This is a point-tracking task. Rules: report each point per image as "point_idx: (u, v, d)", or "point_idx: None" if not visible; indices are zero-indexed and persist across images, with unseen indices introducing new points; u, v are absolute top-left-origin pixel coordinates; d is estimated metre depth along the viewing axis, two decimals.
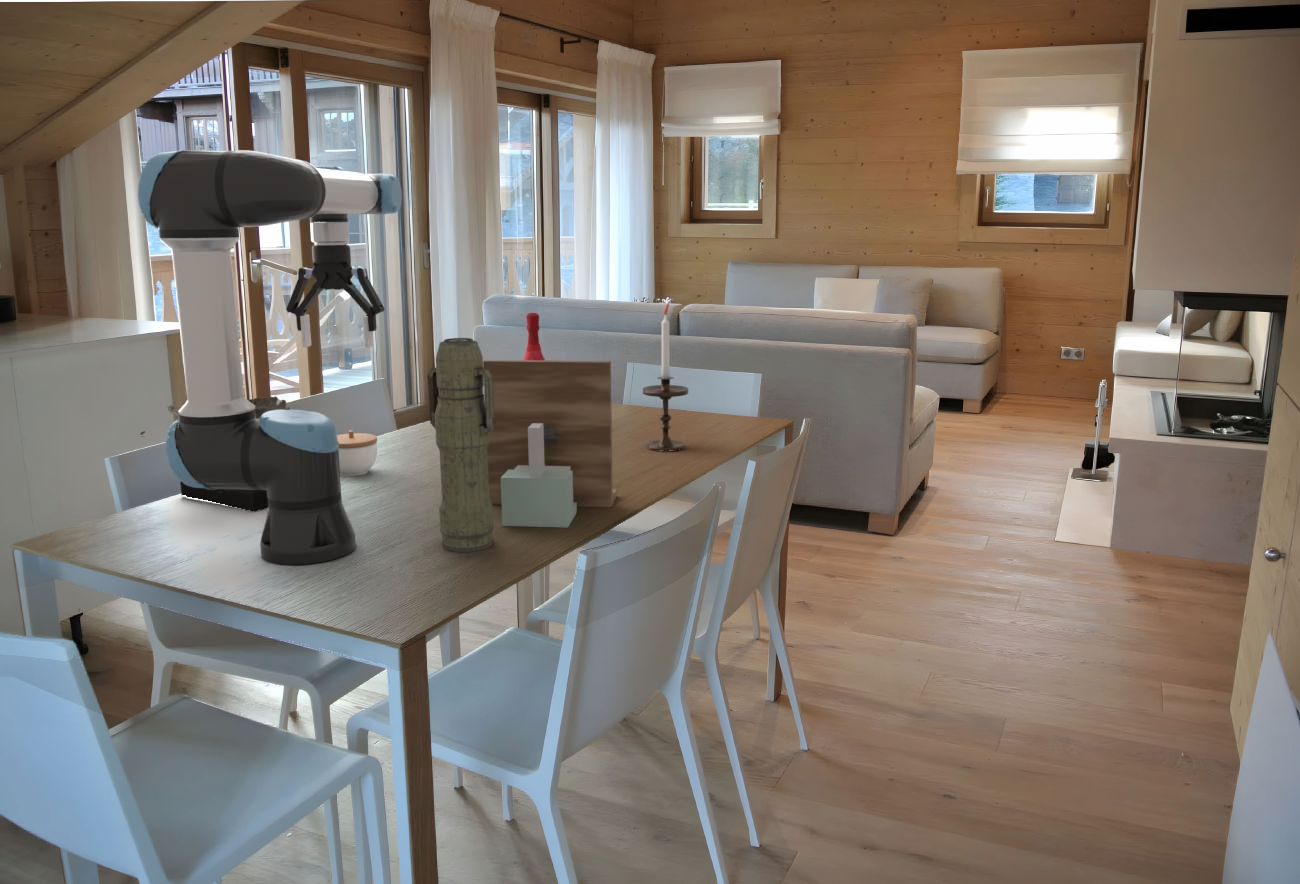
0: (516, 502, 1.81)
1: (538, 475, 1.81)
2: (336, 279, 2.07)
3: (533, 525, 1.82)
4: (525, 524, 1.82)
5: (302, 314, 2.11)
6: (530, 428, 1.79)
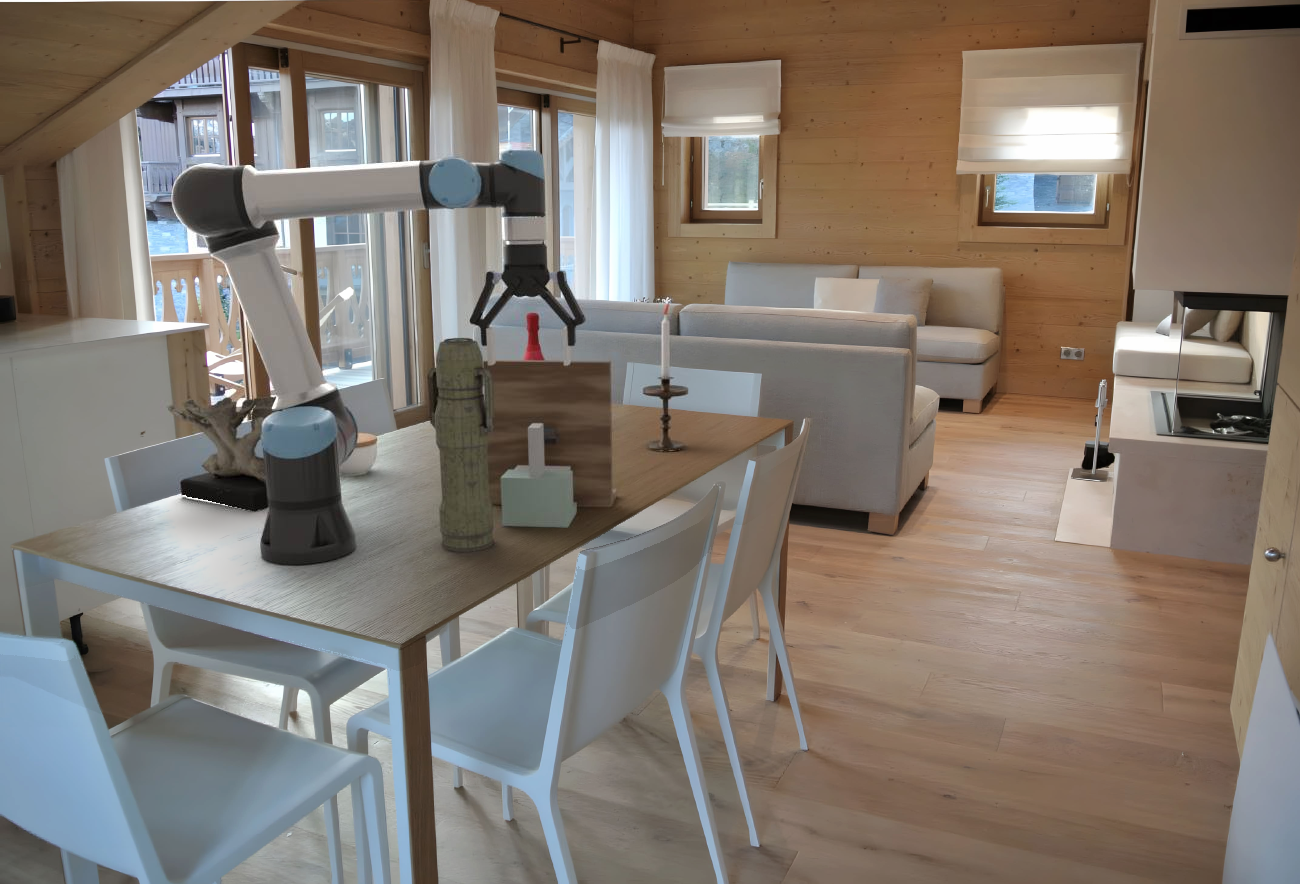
0: (516, 502, 1.81)
1: (538, 475, 1.81)
2: (532, 285, 1.74)
3: (533, 525, 1.82)
4: (525, 524, 1.82)
5: (487, 327, 1.78)
6: (530, 428, 1.79)
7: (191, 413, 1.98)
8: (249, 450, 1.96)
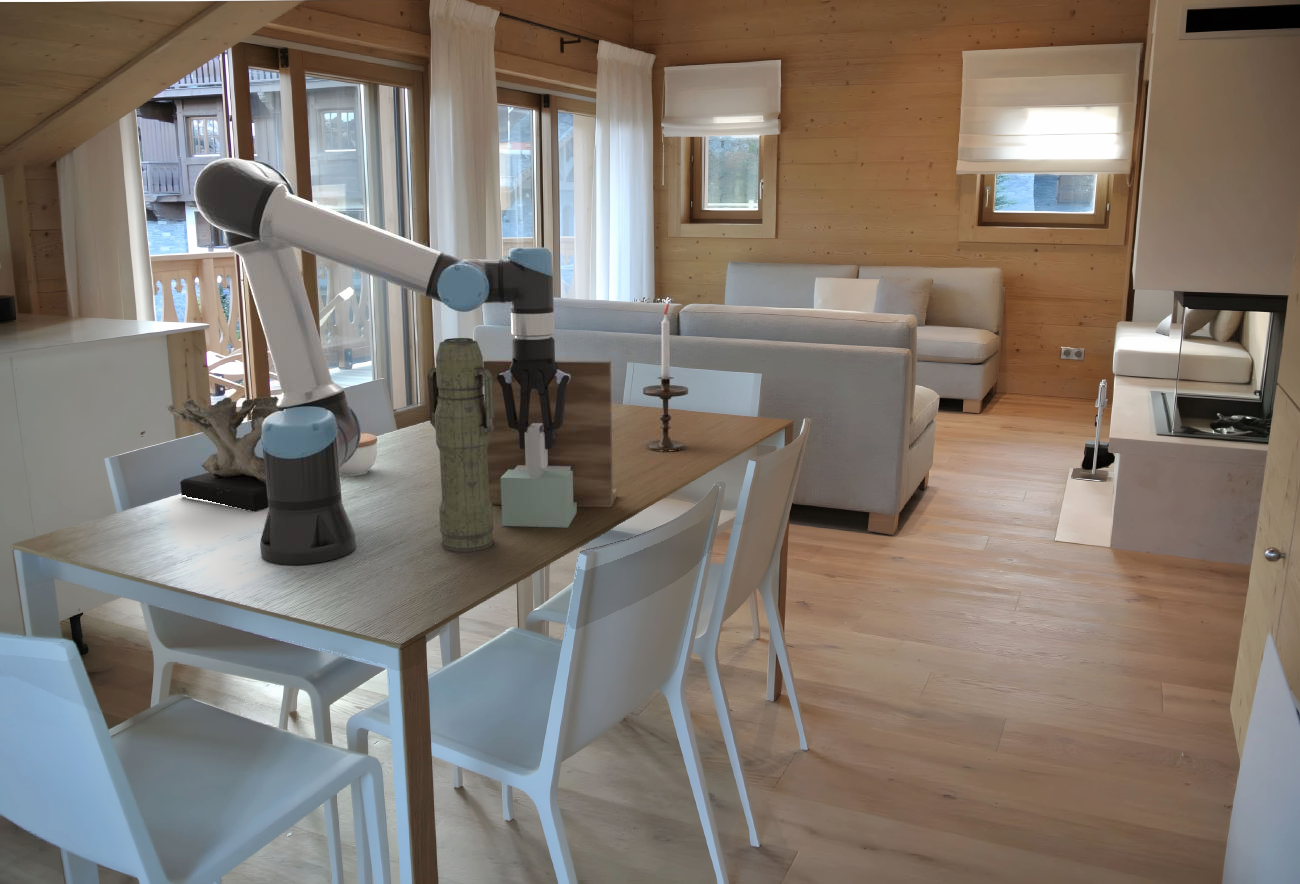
0: (516, 502, 1.81)
1: (538, 475, 1.81)
2: (537, 378, 1.77)
3: (533, 525, 1.82)
4: (525, 524, 1.82)
5: (525, 430, 1.81)
6: (530, 428, 1.79)
7: (191, 413, 1.98)
8: (249, 450, 1.96)
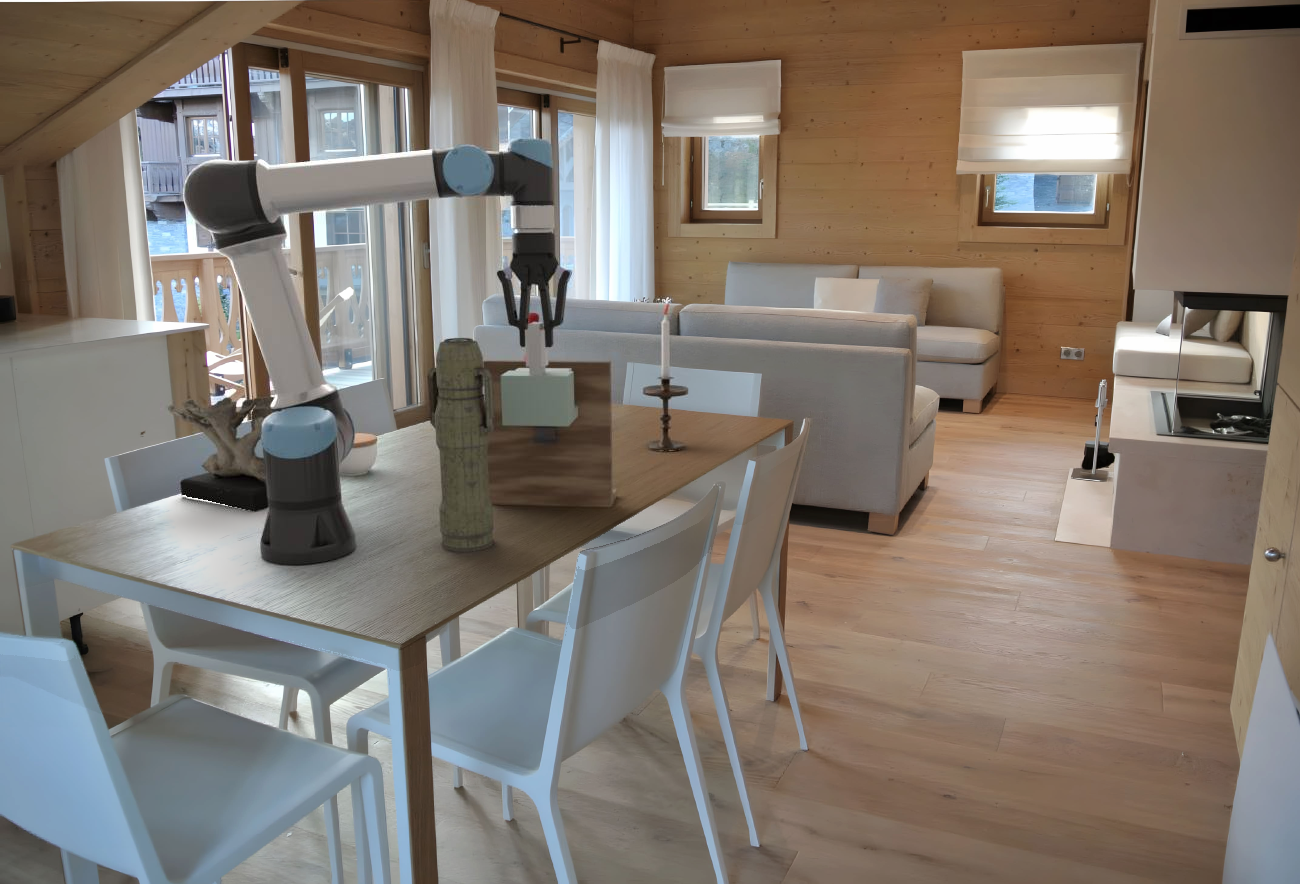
0: (516, 401, 1.80)
1: (538, 373, 1.79)
2: (538, 273, 1.75)
3: (533, 424, 1.80)
4: (525, 423, 1.81)
5: (526, 328, 1.79)
6: (530, 325, 1.78)
7: (191, 413, 1.98)
8: (249, 450, 1.96)
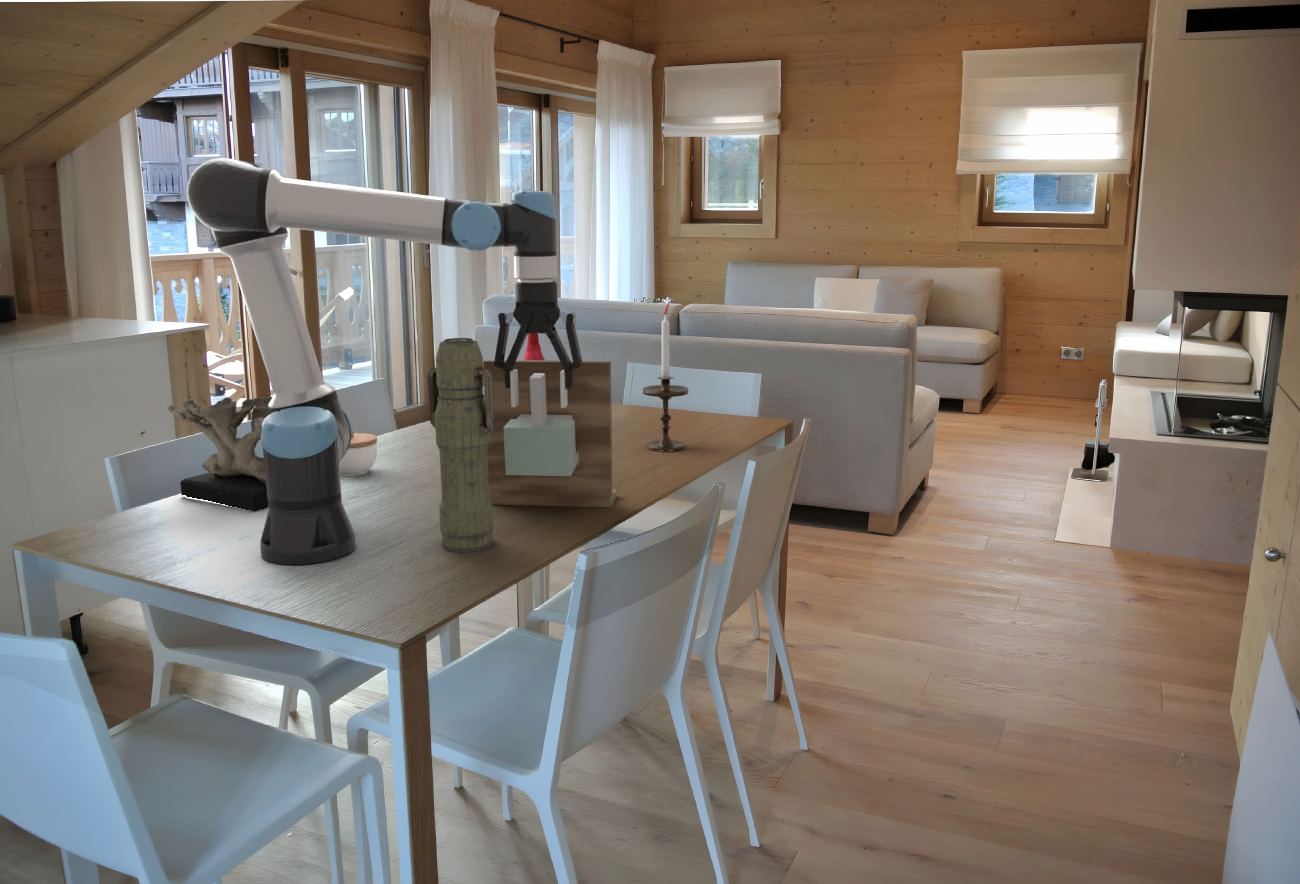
0: (519, 452, 1.83)
1: (540, 425, 1.82)
2: (542, 322, 1.79)
3: (536, 474, 1.84)
4: (528, 473, 1.84)
5: (511, 369, 1.83)
6: (532, 378, 1.80)
7: (191, 413, 1.98)
8: (249, 450, 1.96)
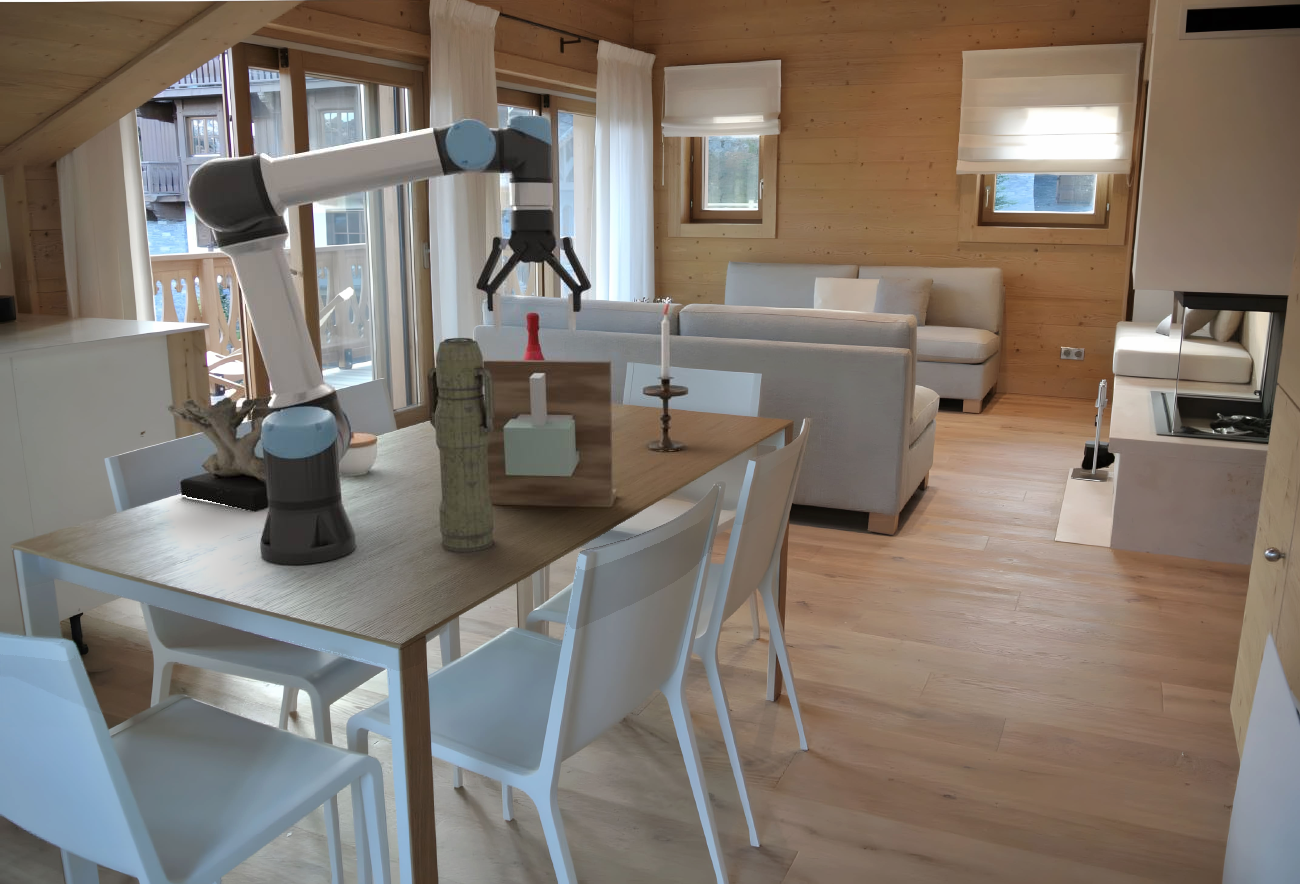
0: (519, 452, 1.83)
1: (540, 425, 1.82)
2: (539, 250, 1.76)
3: (536, 474, 1.84)
4: (528, 473, 1.84)
5: (494, 292, 1.80)
6: (532, 378, 1.80)
7: (191, 413, 1.98)
8: (249, 450, 1.96)
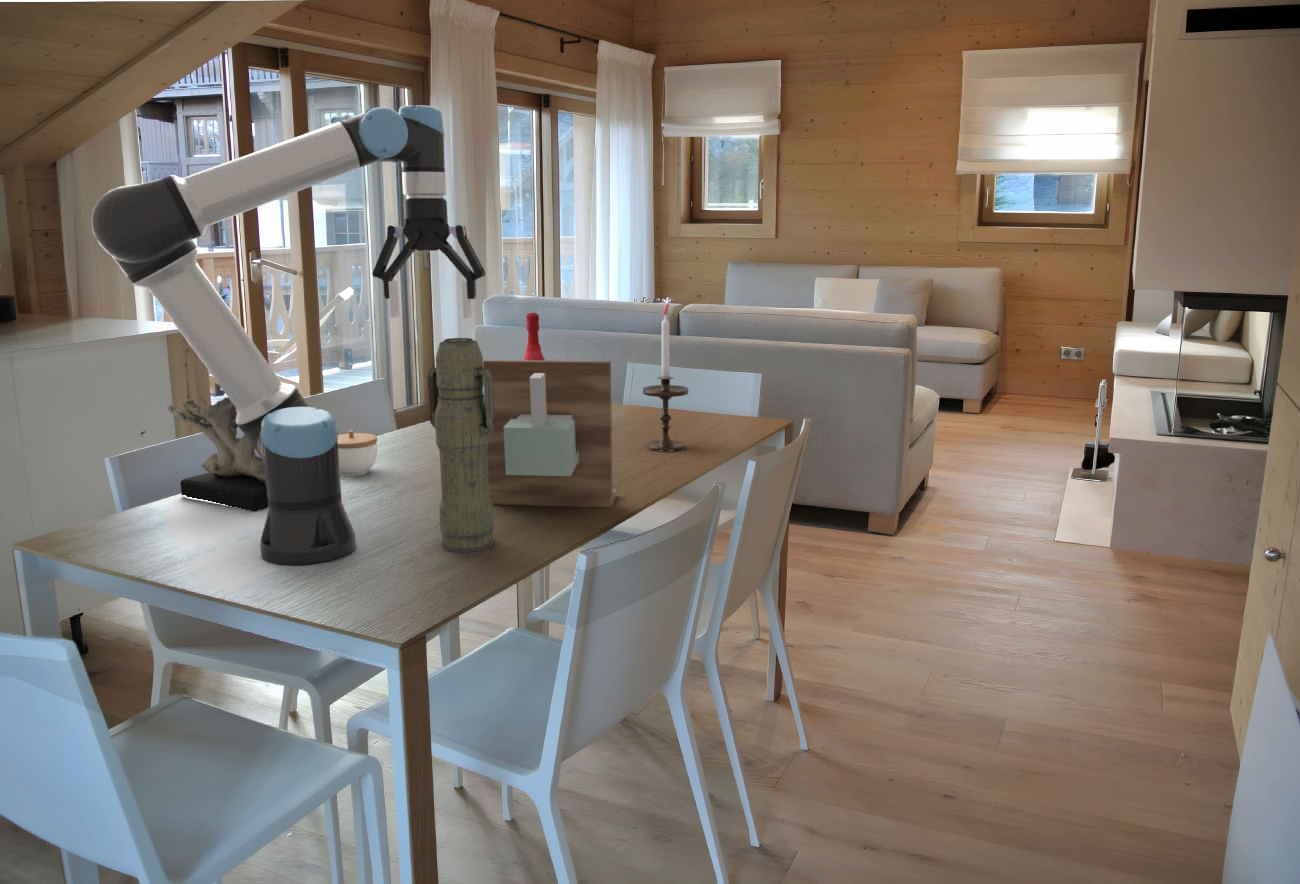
0: (519, 452, 1.83)
1: (540, 425, 1.82)
2: (432, 238, 1.79)
3: (536, 474, 1.84)
4: (528, 473, 1.84)
5: (390, 280, 1.83)
6: (532, 378, 1.80)
7: (191, 413, 1.98)
8: (249, 450, 1.96)
